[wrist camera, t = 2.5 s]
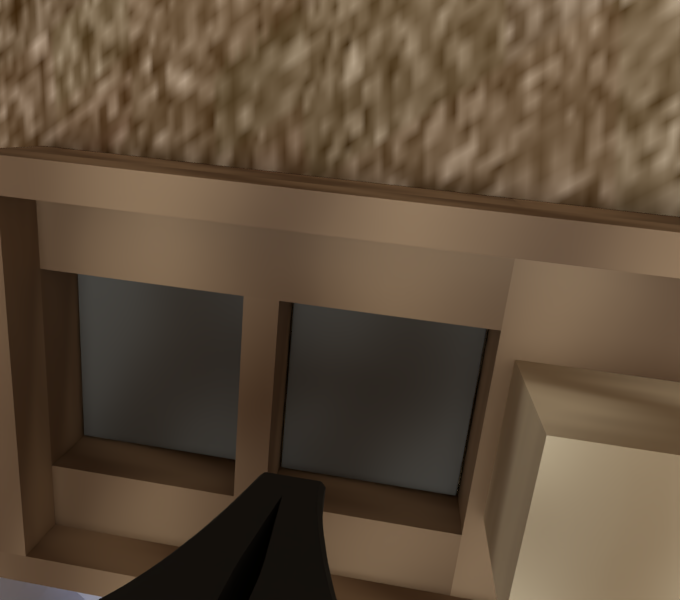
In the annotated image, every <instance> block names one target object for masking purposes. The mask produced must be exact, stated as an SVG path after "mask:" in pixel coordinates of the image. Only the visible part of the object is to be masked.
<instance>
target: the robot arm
mask: <svg viewBox="0 0 680 600" xmlns="http://www.w3.org/2000/svg"><path fill="white" fill-rule="evenodd" d="M325 490H326V487H325V486H324V484H323V483H322V482H321V481H316V480H310V479H304V478H298V477H292V476H286V475H280V474H274V473H268V472H264V473H263V474H261V475H260V476H259V477H258V478H257V479H256V480H255V481H254V482H253V483H252V484H251V485H250V486H249V487H248V488H247V489H246V490H245V491H244V492H242V493H241V494H240V495H239V496H238V497H237V498H236V499H235V500H234V501H233V502H232V503H231V504H230V505H229V506H228V507H227V508H226V509H224V510H223V511H222V512H221V513H220V514H219V515H218V516H216V517H215V518H214V519H213V520H212V521H211V522H210V523H208V524H207V525H206V526H205V527H204V528H203V529H202V530H200V531H199V532H198V533H197V534H195V535H194V536H193V537H192V538H190V539H189V540H188V541H186V542H185V543H184V544H183V545H181V546H180V547H179V548H177V549H176V550H175V551H174V552H172V553H171V554H170V555H168V556H167V557H166V558H164V559H163V560H161V561H160V562H159V563H157V564H156V565H154V566H153V567H151V568H150V569H148V570H147V571H145V572H144V573H142V574H141V575H139V576H138V577H136V578H135V579H133V580H132V581H130V582H128V583H127V584H125V585H124V586H122V587H120V588H118V589H117V590H115V591H113V592H111V593H109V594H108V595H106V596H104V597H100V596H95V595H89V594H84V593H79V592H74V591H69V590H63V589H58V588H53V587H48V586H43V585H37V584H32V583H27V582H22V581H17V580H11V579H6V578H1V577H0V600H337V599H336V595H335V591H334V587H333V583H332V578H331V574H330V569H329V564H328V559H327V553H326V546H325V539H324V531H323V509H324V499H325Z"/></svg>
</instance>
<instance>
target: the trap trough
mask: <svg viewBox="0 0 680 600" xmlns="http://www.w3.org/2000/svg"><path fill="white" fill-rule="evenodd" d="M293 303H294V311H293V324H292V336H291V349H290V362H289V375H288V388H287V401H286V414H285V427H284V440H283V453H282V466H280V462H281V449H282V436H283V423H284V410H285V397H286V384H287V371H288V358H289V345H290V332H291V319H292V306H293ZM486 329H488V333H487V338H486V344H485V349H484V355H483V360H482V365H481V371H480V376H479V382H478V387H477V393H476V398H475V403H474V409H473V414H472V420H471V425H470V430H469V436H468V441H467V447H466V452H465V457H464V463H463V468H462V474H461V479H460V484H459V490H458V495H457V494H456V492H457V487H458V481H459V476H460V470H461V465H462V459H463V454H464V449H465V443H466V438H467V432H468V427H469V421H470V416H471V411H472V405H473V400H474V394H475V389H476V383H477V378H478V373H479V367H480V362H481V356H482V351H483V345H484V340H485V334H486ZM515 360H522V361H530V362H537V363H544V364H551V365H558V366H566V367H573V368H580V369H587V370H594V371H602V372H609V373H616V374H623V375H630V376H638V377H645V378H652V379H659V380H666V381H674V382H680V217H673V216H664V215H655V214H646V213H638V212H629V211H620V210H611V209H602V208H593V207H584V206H575V205H566V204H557V203H548V202H539V201H530V200H521V199H512V198H503V197H495V196H486V195H477V194H468V193H459V192H450V191H441V190H432V189H423V188H414V187H405V186H396V185H387V184H378V183H369V182H360V181H352V180H343V179H334V178H325V177H316V176H307V175H298V174H289V173H280V172H271V171H262V170H253V169H244V168H235V167H226V166H217V165H209V164H200V163H191V162H182V161H173V160H164V159H155V158H146V157H137V156H128V155H119V154H110V153H101V152H92V151H83V150H74V149H65V148H57V147H48V146H37V147H13V148H0V577H1V578H6V579H11V580H17V581H22V582H27V583H32V584H37V585H43V586H48V587H53V588H58V589H63V590H69V591H74V592H79V593H84V594H89V595H95V596H100V597H104V596H106V595H108V594H109V593H111V592H113V591H115V590H117V589H118V588H120V587H122V586H124V585H125V584H127V583H128V582H130V581H132V580H133V579H135V578H136V577H138V576H139V575H141V574H142V573H144V572H145V571H147V570H148V569H150V568H151V567H153V566H154V565H156V564H157V563H159V562H160V561H161V560H163V559H164V558H166V557H167V556H168V555H170V554H171V553H172V552H174V551H175V550H176V549H177V548H179V547H180V546H181V545H183V544H184V543H185V542H186V541H188V540H189V539H190V538H192V537H193V536H194V535H195V534H197V533H198V532H199V531H200V530H202V529H203V528H204V527H205V526H206V525H207V524H208V523H210V522H211V521H212V520H213V519H214V518H215V517H216V516H218V515H219V514H220V513H221V512H222V511H223V510H224V509H226V508H227V507H228V506H229V505H230V504H231V503H232V502H233V501H234V500H235V499H236V498H237V497H238V496H239V495H240V494H241V493H242V492H244V491H245V490H246V489H247V488H248V487H249V486H250V485H251V484H252V483H253V482H254V481H255V480H256V479H257V478H258V477H259V476H260V475H261V474H263V473H264V472H268V473H274V474H280V475H286V476H292V477H298V478H304V479H310V480H316V481H321V482H322V483H323V484H324V486H325V487H326V490H325V499H324V509H323V531H324V539H325V546H326V553H327V559H328V564H329V569H330V574H331V578H332V583H333V587H334V591H335V595H336V599H337V600H497V598H496V592H495V586H494V580H493V574H492V567H491V561H490V555H489V549H488V543H487V537H486V531H485V525H484V519H483V515H484V510H485V505H486V500H487V496H488V491H489V486H490V481H491V476H492V471H493V466H494V461H495V456H496V451H497V446H498V441H499V436H500V432H501V427H502V422H503V417H504V412H505V407H506V402H507V397H508V392H509V387H510V382H511V377H512V372H513V368H514V363H515Z"/></svg>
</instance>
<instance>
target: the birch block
mask: <svg viewBox="0 0 680 600" xmlns="http://www.w3.org/2000/svg"><path fill="white" fill-rule="evenodd" d="M483 519H484V525H485V531H486V537H487V543H488V549H489V555H490V561H491V567H492V574H493V580H494V586H495V592H496V598H497V600H680V382H674V381H666V380H659V379H652V378H645V377H638V376H630V375H623V374H616V373H609V372H602V371H594V370H587V369H580V368H573V367H566V366H558V365H551V364H544V363H537V362H530V361H522V360H515V363H514V368H513V372H512V377H511V382H510V387H509V392H508V397H507V402H506V407H505V412H504V417H503V422H502V427H501V432H500V436H499V441H498V446H497V451H496V456H495V461H494V466H493V471H492V476H491V481H490V486H489V491H488V496H487V500H486V505H485V510H484V515H483Z"/></svg>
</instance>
